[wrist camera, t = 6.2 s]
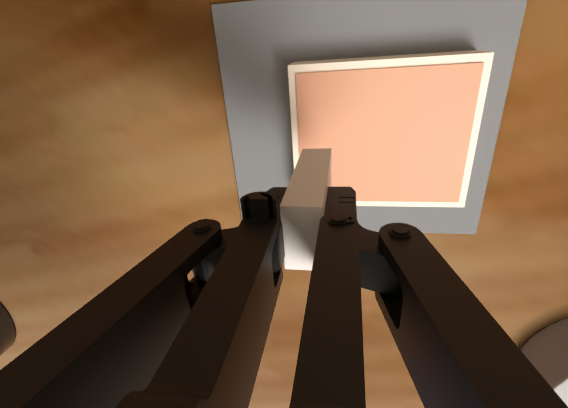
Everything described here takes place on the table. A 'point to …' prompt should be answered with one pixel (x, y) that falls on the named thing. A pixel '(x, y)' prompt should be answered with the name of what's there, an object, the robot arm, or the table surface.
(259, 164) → the rubber mat
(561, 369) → the tape roll
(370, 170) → the wooden plaque
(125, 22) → the table surface
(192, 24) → the table surface
